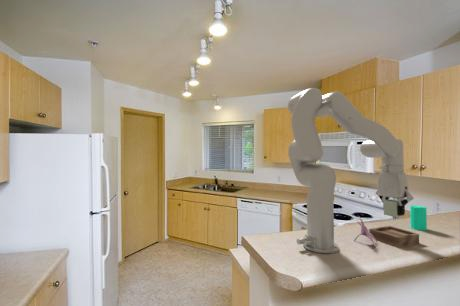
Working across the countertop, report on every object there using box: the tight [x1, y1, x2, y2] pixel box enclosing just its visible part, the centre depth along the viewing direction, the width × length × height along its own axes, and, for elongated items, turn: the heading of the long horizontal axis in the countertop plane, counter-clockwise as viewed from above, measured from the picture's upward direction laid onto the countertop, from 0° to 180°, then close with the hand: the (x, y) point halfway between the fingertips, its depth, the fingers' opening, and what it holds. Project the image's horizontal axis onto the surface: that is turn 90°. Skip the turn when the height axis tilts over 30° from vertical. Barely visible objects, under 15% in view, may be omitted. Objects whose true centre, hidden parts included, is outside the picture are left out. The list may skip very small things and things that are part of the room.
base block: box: [368, 225, 420, 248], centre depth 96 cm, size 12×12×4 cm
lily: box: [353, 216, 378, 248], centre depth 94 cm, size 12×12×10 cm
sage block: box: [382, 198, 405, 218], centre depth 97 cm, size 5×5×6 cm
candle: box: [409, 204, 428, 231], centre depth 111 cm, size 6×6×12 cm
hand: (393, 213), depth 97 cm, fingers closed on sage block, 5 cm apart
